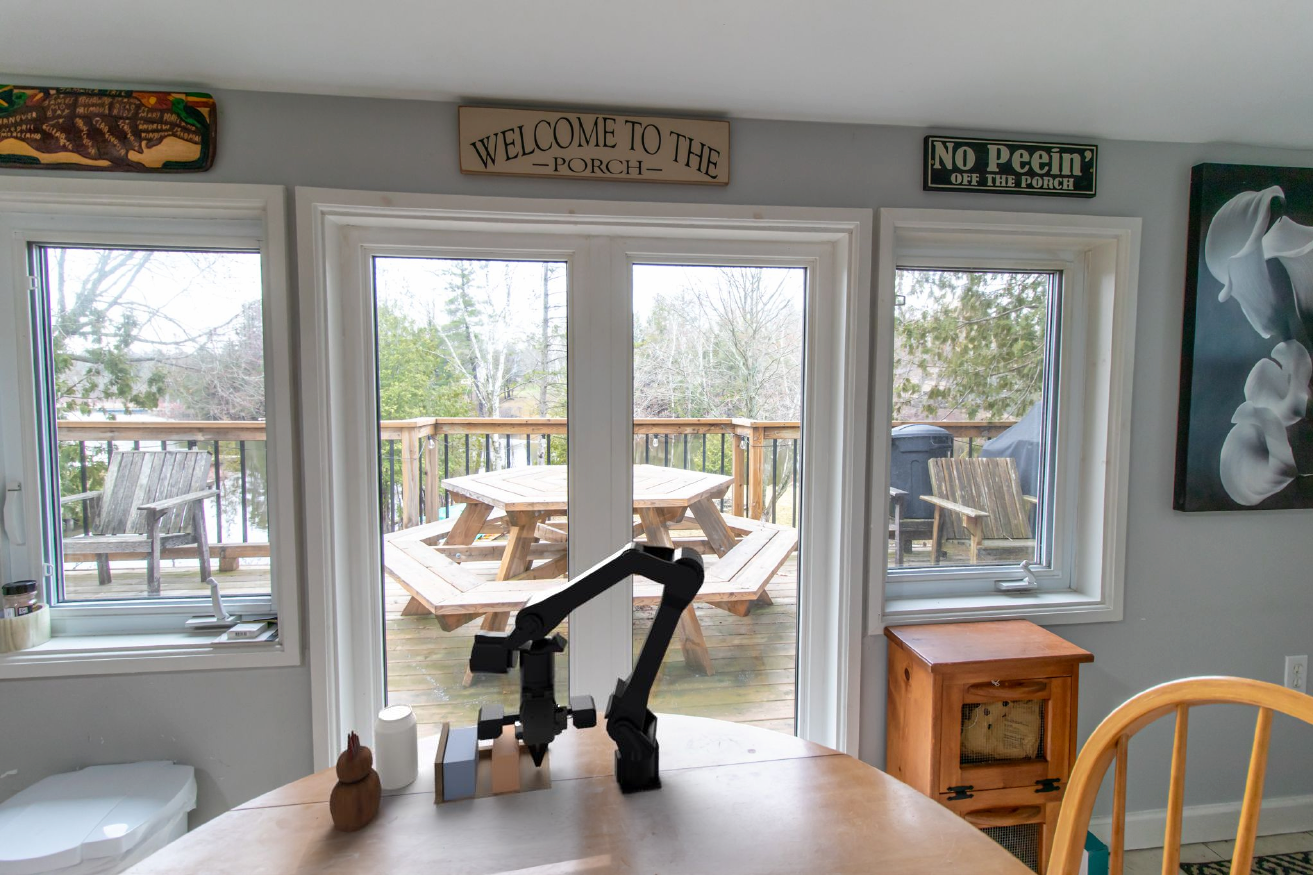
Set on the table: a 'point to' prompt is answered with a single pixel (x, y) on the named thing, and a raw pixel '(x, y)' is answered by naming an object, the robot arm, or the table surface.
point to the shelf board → (528, 772)
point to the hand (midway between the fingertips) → (538, 765)
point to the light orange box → (505, 761)
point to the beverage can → (396, 746)
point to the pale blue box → (461, 763)
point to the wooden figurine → (355, 787)
